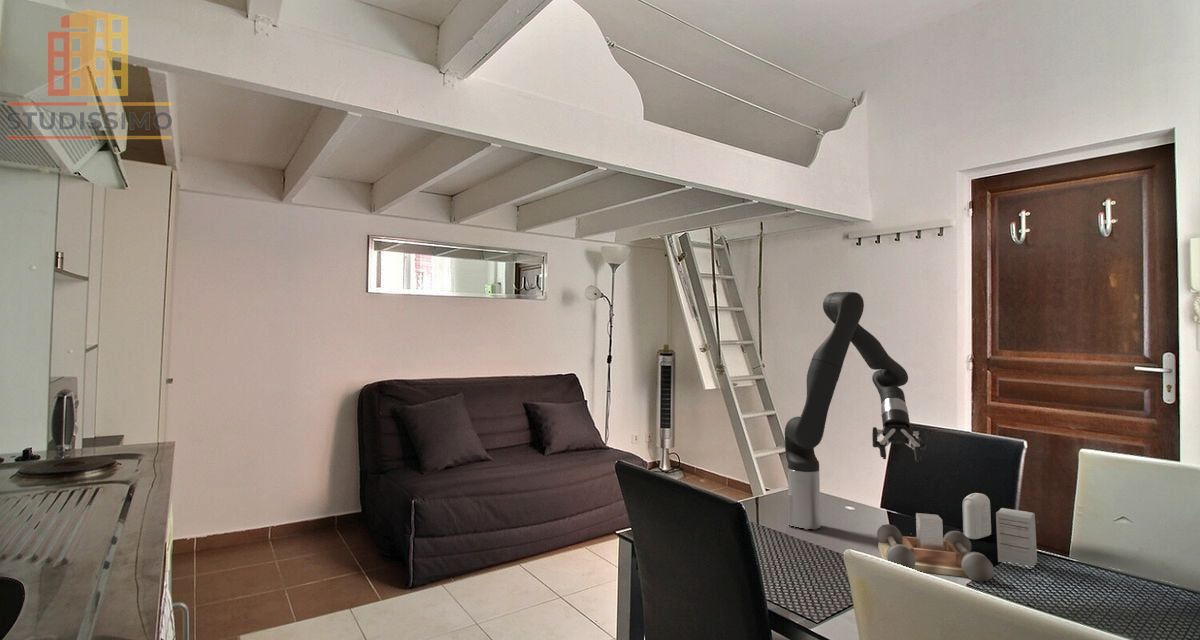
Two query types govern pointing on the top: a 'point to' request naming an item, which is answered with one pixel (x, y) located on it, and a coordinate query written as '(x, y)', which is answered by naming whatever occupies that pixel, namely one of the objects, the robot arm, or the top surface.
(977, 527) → the arched gray pillar
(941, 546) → the beige rectangular block
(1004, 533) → the supplement box
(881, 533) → the chassis
